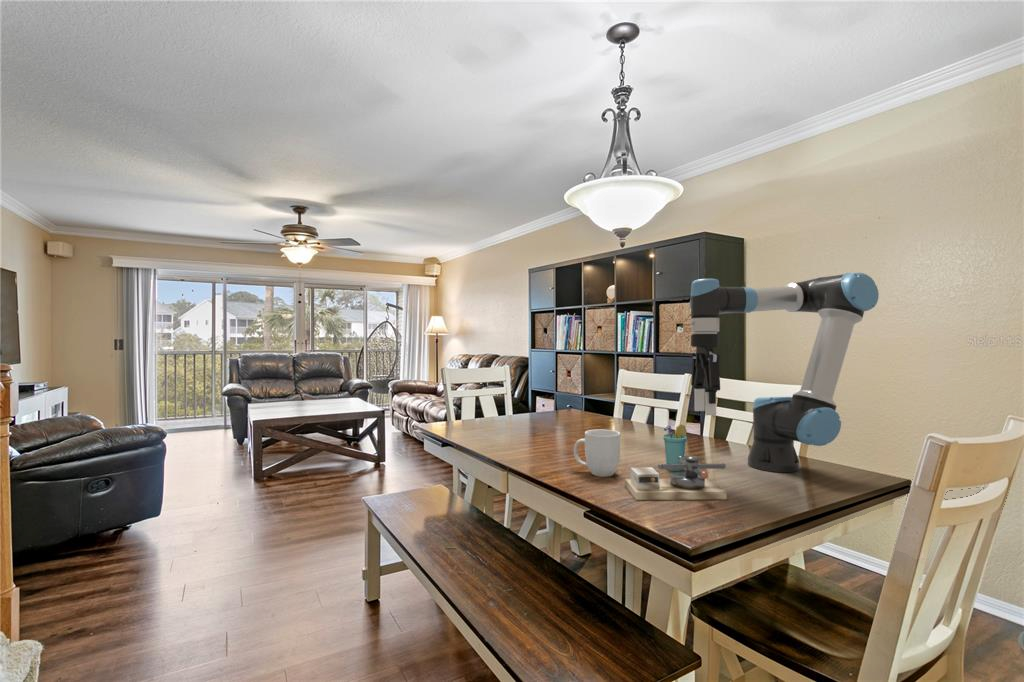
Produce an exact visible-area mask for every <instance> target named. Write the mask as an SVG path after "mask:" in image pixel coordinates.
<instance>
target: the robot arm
mask: <svg viewBox="0 0 1024 682" xmlns="http://www.w3.org/2000/svg"><path fill="white" fill-rule="evenodd" d="M690 287H691V288H690V295H689V296H690V300H689V307H690V319H691V320H690V322H689V325H690V327H691V329H690V331H691V332H692V333H693V334H692V333H691V335H690V346H691V347H692V348H693V347H694V348H696V352H692V353H691V379H690V381H691V382H690V384H691V386H693V389H694V412H705V414H704V415H705V416H717V392H718V391H720V390H721V378H720V375H721V374H720V354H719V353H718V354H717V353H715V351H714V348H718V347H719V346H720V335H719V333H718V332H720V315H723V314H747V313H748V314H749V313H752V312H767V311H781V310H785V311H787V312H790V313H793V312H794V313H795V312H796V313H799V312H800V313H817V314H818V315H819V316H820V318H821V320H820V322H819V323H820V324H819V326H818V328H817V329H818V330H817V333H816V336H815V340H814V343H813V347H812V350H811V353H810V356H809V359H808V364H807V367H806V370H805V373H804V376H803V380H802V384H801V385H800V390H798V391H797V392H795V393H793V394H792V396H771V397H769V396H767V397H765V396H764V397H757V398H755V399H754V401H753V407H752V416H753V417H752V419H753V420H752V422H753V442H752V445H751V448H750V450H749V453H748V456H747V465H748V466H750V467H752V468H754V469H758V470H761V471H766V472H767V471H768V472H774V473H775V472H776V473H793V472H794V473H795V472H799V471H800V470H801V469H800V467H801V464H800V459H799V457H798V455H797V451H796V449H795V445H794V442H797V443H798V442H799V443H802V444H804V445H807V446H817V447H823V446H827V445H828V444H830V443H832V442H833V441H834V440H835V439H836V438H837V437H838V436H839V433H840V432H841V428H842V421H841V420H840V419H841V416H840V414H839V413H838V412H837V411H836V409H837V404H836V403H835V401H834V400H833V398H834V395H835V391H836V388H837V386H838V385H837V384H838V382H839V378H840V374H841V371H842V368H843V364H844V361H845V356H846V355H847V354H846V353H847V350H848V347H849V344H850V340H851V337H852V334H853V330H854V327H855V325H856V324H858V323H860V322H862V321H863V318H864V317H863V316H864V315H865V312H868V311H870V310H872V309H873V308H875V307H876V305H877V304H878V302H879V297H880V296H879V289H878V285H877V284H876V282H875V280H874V279H873V278H872V277H871V276H870V275H868V274H866V273H864V272H847V273H844V274H843V273H842V274H838V275H837V274H836V275H830V276H822V277H817V278H812V279H808V280H804V281H803V280H802V281H799V282H789V283H787V284H786V285H784V286H774V287H773V286H772V287H757V288H752V287H745V286H740V287H739V286H738V287H737V286H722V285H721V286H720V281H719V279H717V278H699V279H695V280H693V281H692V282H691V286H690ZM704 383H705V385H706V386H705V385H704Z"/></svg>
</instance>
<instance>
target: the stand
mask: <svg viewBox="0 0 1024 682" xmlns="http://www.w3.org/2000/svg"><path fill="white" fill-rule="evenodd" d="M624 486H625V488H626V489H627V490H628V492H629V493H630V494H631V496H632V497H633V498H634V499H635V501H656V500H657V501H659V500H660V501H661V500H663V501H667V500H670V501H672V500H673V501H676V500H677V501H678V500H683V501H684V500H692V501H693V500H694V501H695V500H697V501H699V500H727V498H728V495H727V494H728V493H727V491H726V490H725V489H723V488H722V487H721V486H720V485H718V484H716V483H715V482H714V481H712V480H710V479H709V478H706V479H705V487H703V488H700V489H685V488H680V487H676V486H673V485H672V484H671V483H670V478H660V473H659V472H657V471H656V470H655V469H654V468H653V467H649V466H648V467H643V466H642V467H630V478H625V479H624Z"/></svg>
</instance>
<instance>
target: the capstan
mask: <svg viewBox="0 0 1024 682" xmlns="http://www.w3.org/2000/svg"><path fill="white" fill-rule="evenodd" d="M678 460H679V461H680V462H682V463H683V464H666V463H658V464H657V469H658V470H668V469H683V470H685V471H683V472H682V471H676V472H673V473H670V475H669V476H670V477H669V479H670V483H671V484H672V485H673V486H676V487H680V488H685V489H700V488H703V487H705V479H708V478H709V474H708V472H707V471H704V470H706V469H708V470H711V469H713V470H714V469H716V470H718V469H719V470H725V469H726V467H727V465H726V464H725V463H723V462H721V463H698V462H699V461H700V457H699V456H697V455H691V454H690V455H689V454H688V455H684V457H682V456H678Z"/></svg>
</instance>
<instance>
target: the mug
mask: <svg viewBox="0 0 1024 682" xmlns="http://www.w3.org/2000/svg"><path fill="white" fill-rule="evenodd" d="M580 443H584V455H585V461H586V462H585V461H583V460H581V458H580V457H579V454H578V447H579V444H580ZM573 457H574V458H575V460H576V462H577V463H578V464H580V465H582V466H585V467H587V468H588V470H589V471H590V473H591V474H592V475H593V476H595V477H598V478H599V477H602V478H607V477H611V476H613V475H614V474H615V472H616V470H617V468H618V466H619V462H620V457H621V433H620V432H619V431H618V430H612V429H603V428H602V429H599V428H598V429H596V428H595V429H588V430H586V431H585V432H584V438H580V439H578V440H577V441H576V442H575V443H574V446H573Z"/></svg>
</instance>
